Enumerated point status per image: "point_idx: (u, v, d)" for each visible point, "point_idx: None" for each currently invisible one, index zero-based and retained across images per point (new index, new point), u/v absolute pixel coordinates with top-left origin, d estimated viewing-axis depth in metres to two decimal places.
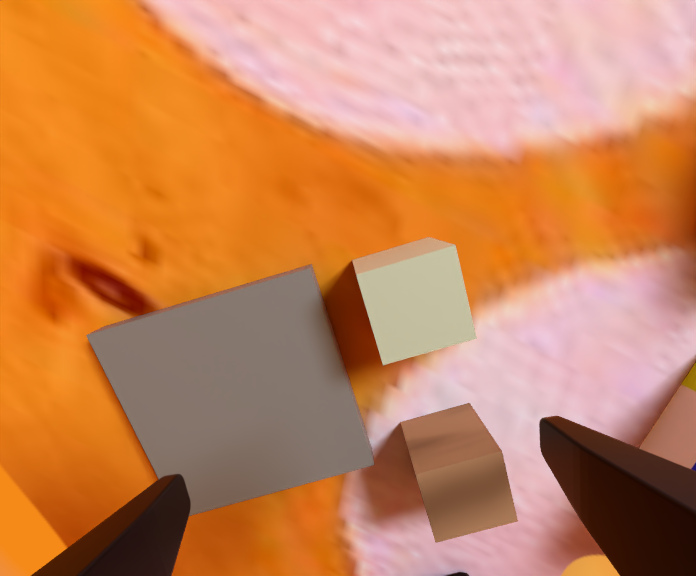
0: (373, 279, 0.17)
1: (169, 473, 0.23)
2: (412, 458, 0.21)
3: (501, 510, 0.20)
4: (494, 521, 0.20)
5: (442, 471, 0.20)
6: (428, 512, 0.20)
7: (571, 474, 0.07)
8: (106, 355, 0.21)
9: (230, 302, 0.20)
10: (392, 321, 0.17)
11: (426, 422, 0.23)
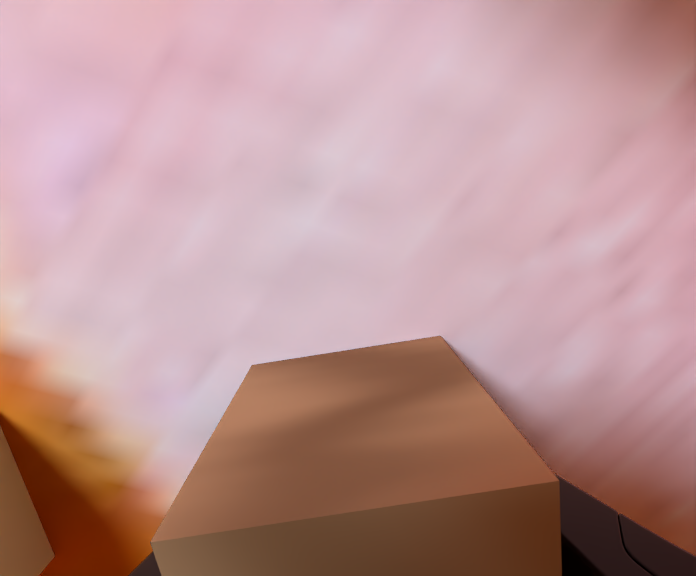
0: None
1: None
2: None
3: (476, 545, 0.04)
4: (529, 572, 0.04)
5: None
6: None
7: None
8: None
9: None
10: None
11: None
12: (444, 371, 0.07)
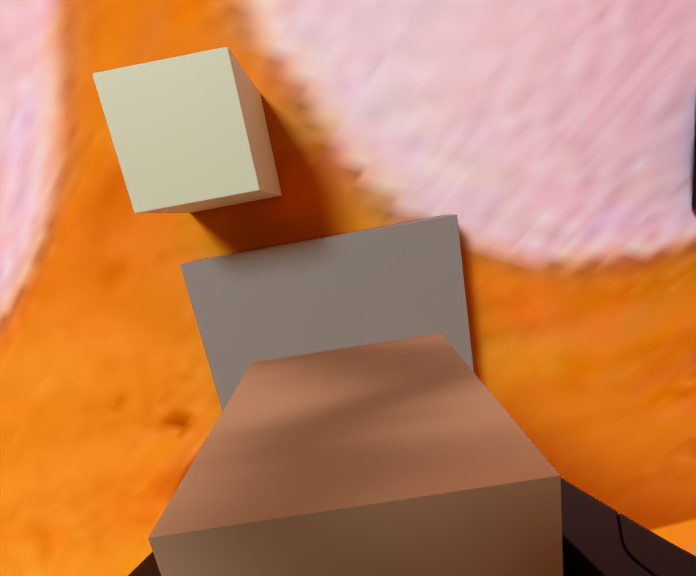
0: (140, 191, 0.13)
1: None
2: None
3: (477, 541, 0.04)
4: (530, 568, 0.04)
5: None
6: None
7: None
8: None
9: (217, 356, 0.18)
10: (197, 170, 0.13)
11: None
12: (444, 368, 0.07)
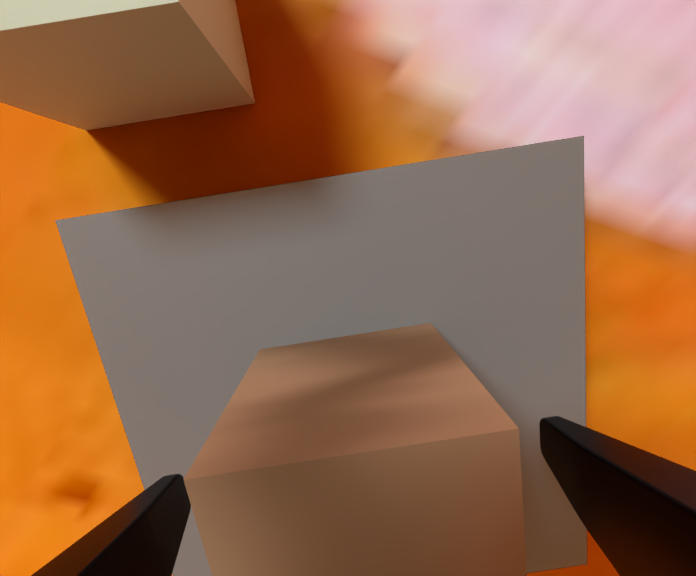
0: None
1: None
2: None
3: (452, 483, 0.05)
4: (496, 507, 0.05)
5: None
6: None
7: (571, 474, 0.07)
8: None
9: (132, 392, 0.10)
10: None
11: None
12: (432, 351, 0.08)
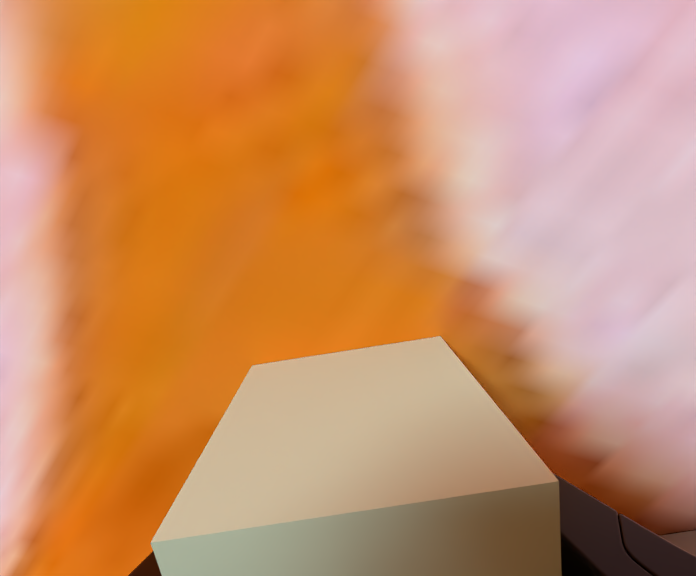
0: None
1: None
2: None
3: None
4: None
5: None
6: None
7: None
8: None
9: None
10: None
11: None
12: None
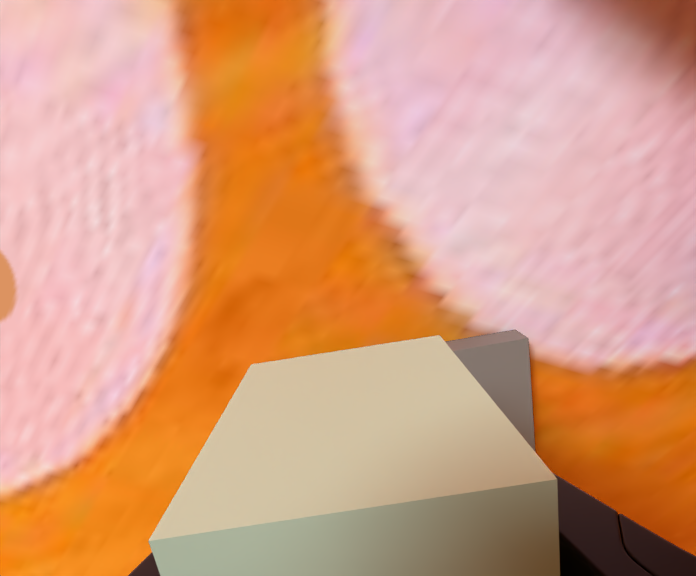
0: None
1: None
2: None
3: None
4: None
5: None
6: None
7: None
8: None
9: None
10: None
11: None
12: None
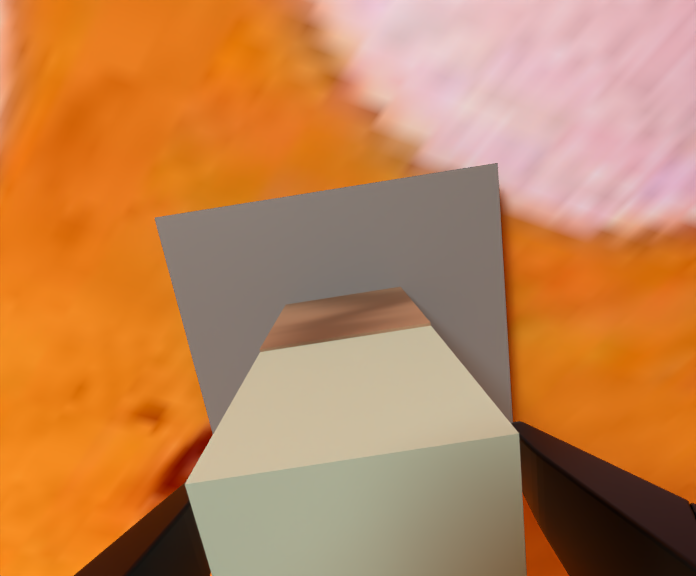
0: None
1: None
2: None
3: None
4: None
5: None
6: None
7: (530, 480, 0.07)
8: None
9: (199, 334, 0.15)
10: None
11: None
12: (397, 299, 0.13)
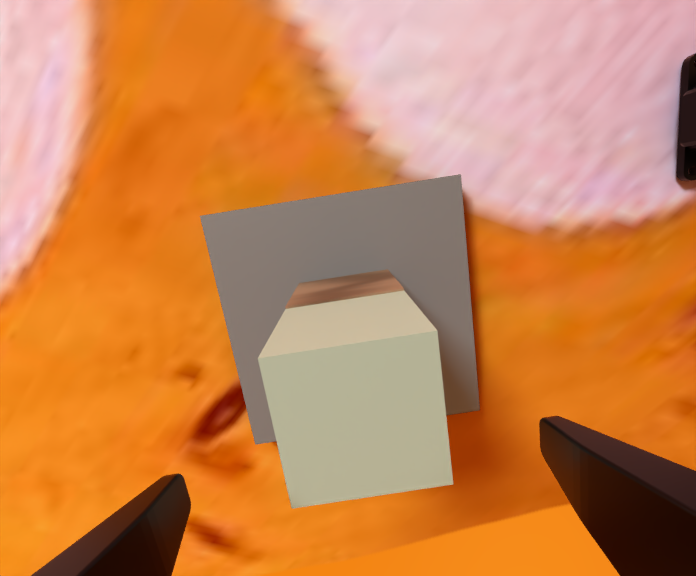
0: (302, 485, 0.10)
1: None
2: None
3: None
4: None
5: None
6: None
7: (571, 474, 0.07)
8: None
9: (232, 306, 0.19)
10: (378, 463, 0.10)
11: None
12: (383, 276, 0.17)
